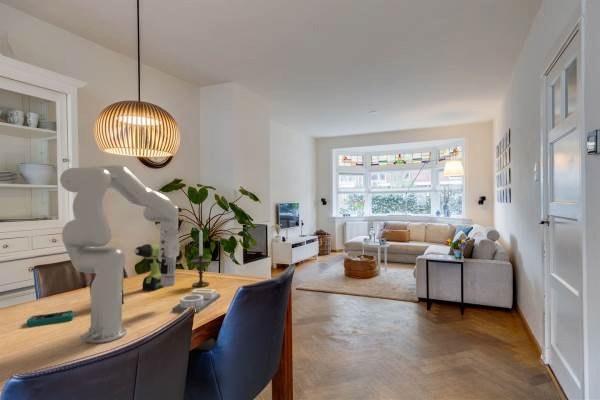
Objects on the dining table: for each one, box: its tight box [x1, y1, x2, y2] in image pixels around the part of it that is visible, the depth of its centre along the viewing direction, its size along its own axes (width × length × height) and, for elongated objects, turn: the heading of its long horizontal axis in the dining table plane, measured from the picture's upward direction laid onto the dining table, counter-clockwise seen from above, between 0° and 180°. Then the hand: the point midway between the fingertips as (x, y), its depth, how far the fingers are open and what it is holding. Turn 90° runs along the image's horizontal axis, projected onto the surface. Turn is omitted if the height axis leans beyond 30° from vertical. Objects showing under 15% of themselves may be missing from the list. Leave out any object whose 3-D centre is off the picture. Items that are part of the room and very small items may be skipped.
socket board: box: [172, 288, 221, 314], centre depth 154 cm, size 24×12×4 cm, turn 171°
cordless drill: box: [133, 243, 164, 292], centre depth 177 cm, size 23×7×25 cm, turn 167°
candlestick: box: [190, 224, 212, 288], centre depth 188 cm, size 11×11×35 cm
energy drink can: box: [161, 256, 177, 288], centre depth 149 cm, size 6×6×15 cm
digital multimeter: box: [26, 310, 75, 328], centre depth 131 cm, size 7×15×3 cm, turn 120°
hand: (168, 271), depth 149 cm, fingers closed on energy drink can, 6 cm apart
